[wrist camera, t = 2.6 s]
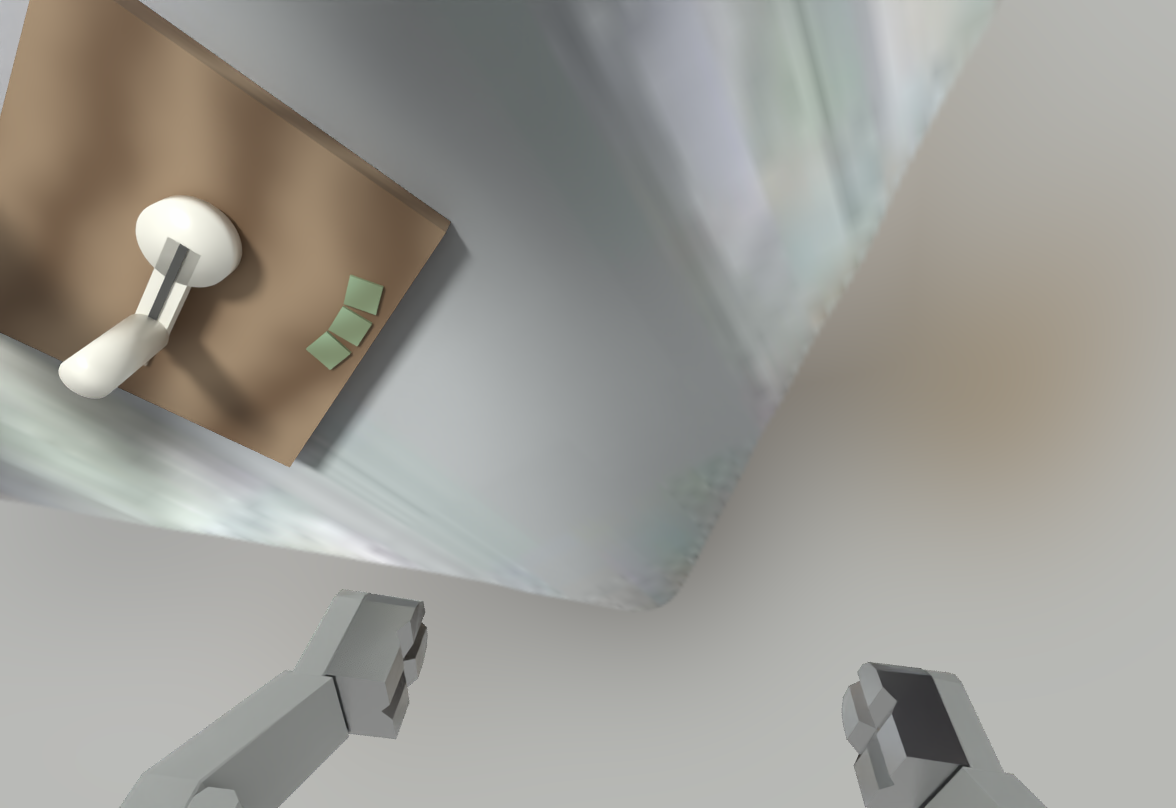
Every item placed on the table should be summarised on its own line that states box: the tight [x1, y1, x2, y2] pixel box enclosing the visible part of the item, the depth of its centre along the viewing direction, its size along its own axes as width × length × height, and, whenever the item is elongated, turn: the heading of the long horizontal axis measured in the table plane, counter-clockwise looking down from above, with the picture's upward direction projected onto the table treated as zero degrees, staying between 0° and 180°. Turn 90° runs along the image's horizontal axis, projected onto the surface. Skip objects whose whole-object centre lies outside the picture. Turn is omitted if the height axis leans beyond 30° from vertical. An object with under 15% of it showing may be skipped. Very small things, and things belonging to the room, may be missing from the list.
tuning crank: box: [59, 195, 242, 399], centre depth 29 cm, size 10×4×6 cm, turn 141°
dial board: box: [0, 0, 451, 467], centre depth 32 cm, size 19×20×2 cm
